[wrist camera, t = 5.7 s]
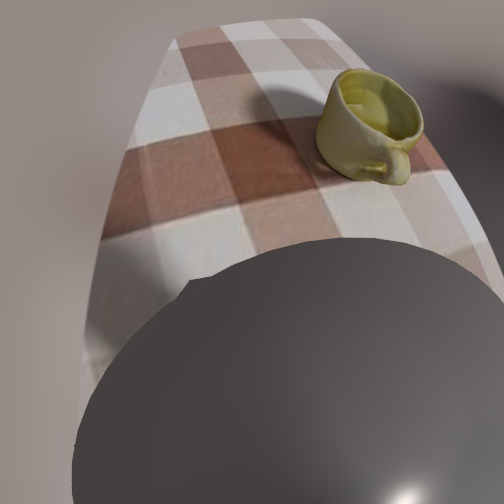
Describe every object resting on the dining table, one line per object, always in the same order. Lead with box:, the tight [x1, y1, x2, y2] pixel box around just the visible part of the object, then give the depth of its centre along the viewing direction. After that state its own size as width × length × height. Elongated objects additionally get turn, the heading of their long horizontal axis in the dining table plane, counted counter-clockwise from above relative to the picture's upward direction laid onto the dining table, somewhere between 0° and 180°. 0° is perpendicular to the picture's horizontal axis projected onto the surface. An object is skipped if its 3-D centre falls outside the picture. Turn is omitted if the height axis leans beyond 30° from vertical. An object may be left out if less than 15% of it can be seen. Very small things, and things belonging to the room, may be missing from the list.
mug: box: [316, 68, 424, 186], centre depth 26 cm, size 12×10×10 cm
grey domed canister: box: [72, 238, 504, 504], centre depth 8 cm, size 7×7×13 cm
